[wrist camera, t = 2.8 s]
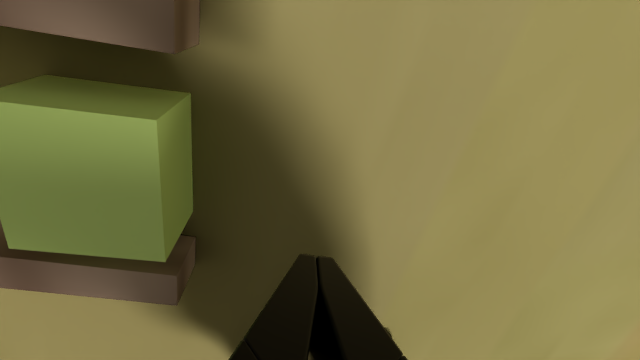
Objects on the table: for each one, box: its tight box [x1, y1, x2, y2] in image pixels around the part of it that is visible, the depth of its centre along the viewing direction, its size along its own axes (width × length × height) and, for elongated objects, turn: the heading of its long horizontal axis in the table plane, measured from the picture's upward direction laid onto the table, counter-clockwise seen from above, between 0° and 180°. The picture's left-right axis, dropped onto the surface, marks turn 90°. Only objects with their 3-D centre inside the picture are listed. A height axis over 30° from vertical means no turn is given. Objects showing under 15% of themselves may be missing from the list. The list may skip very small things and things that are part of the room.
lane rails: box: [0, 0, 200, 306], centre depth 13 cm, size 10×11×2 cm
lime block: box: [0, 75, 193, 262], centre depth 13 cm, size 5×5×4 cm
